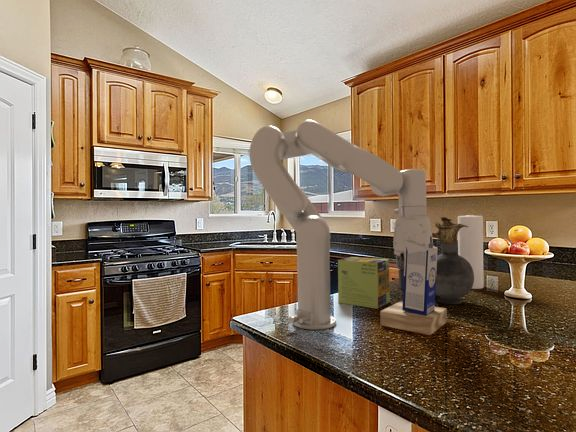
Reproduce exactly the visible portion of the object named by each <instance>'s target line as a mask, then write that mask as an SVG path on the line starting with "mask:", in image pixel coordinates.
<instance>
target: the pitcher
mask: <svg viewBox="0 0 576 432" xmlns="http://www.w3.org/2000/svg"><path fill="white" fill-rule="evenodd" d="M440 221H442V224H441V223H439V222H437V221H436V222H435V225H434V226H435V228H437V229H438V231H437V232H432V238H435V239H438V240H439V242H440V243H441V245H440V246H441V248H440V249H441V252H440V254H439V255H438V254H437V271H436V290H435V296H439V297H437V302H439V303H440V304H447V305H460V304H462V303H463V299H461V298H462V297H464V296H467V295H468V294H469V293H470V291H471V290H472V289H471V288H472V287H473V283H474V272H473V269H472V267H471V265H470V263H469V262H468V261H467V260H466V259H465V258H463V257H461V256H459V255H458V246H457V244H458V231H459V229H461V228H462V227H468V226H466V225H463V224H458V223H453V222H452V221H453V219H449V218H448V217H446V216H441V217H440Z"/></svg>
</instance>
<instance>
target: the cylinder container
mask: <svg viewBox="0 0 576 432" xmlns="http://www.w3.org/2000/svg"><path fill="white" fill-rule="evenodd" d="M457 224H463V225H466V226H468V227H462V228H461V229H459V231H458V234H457V255H459V256H461V257H463V258H465V259H466V260H467V261H468V262H469V263H470V265H471V267H472V269H473V272H474V283H473V287H472V288H471V290H476V289H477V290H478V289H479V290H480V289H483V288H484V286H485V285H484V216H483V215H474V214H467V215H458V216H457Z"/></svg>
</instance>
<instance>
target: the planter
mask: <svg viewBox="0 0 576 432" xmlns="http://www.w3.org/2000/svg"><path fill="white" fill-rule="evenodd" d="M395 262H396V263H395V264H396V265H395V266H396V269H397V270H398V287H399V289H401V290H403V285H404V263H405V260H404V259H403V258H402V257H401V256H398V255H395Z"/></svg>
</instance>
